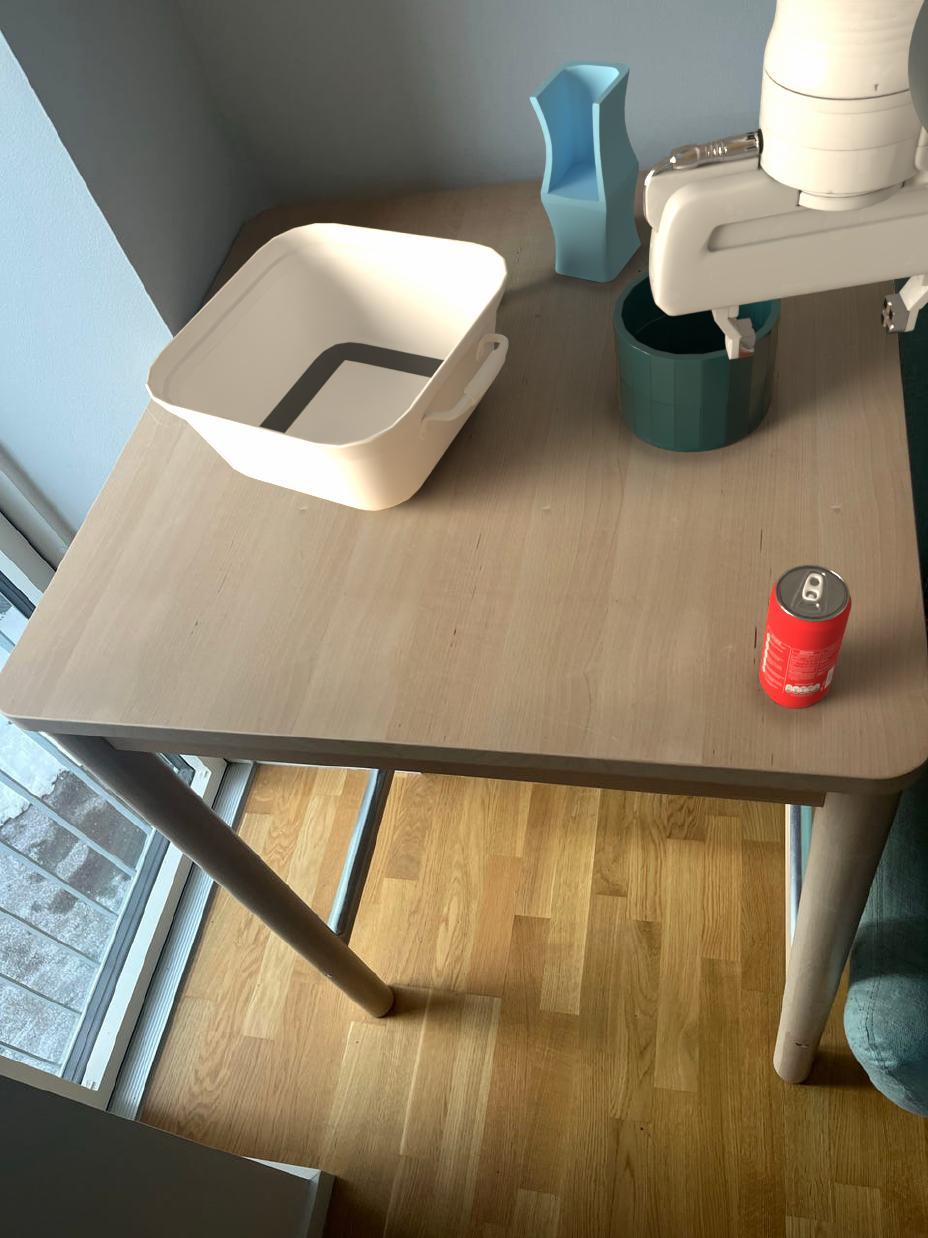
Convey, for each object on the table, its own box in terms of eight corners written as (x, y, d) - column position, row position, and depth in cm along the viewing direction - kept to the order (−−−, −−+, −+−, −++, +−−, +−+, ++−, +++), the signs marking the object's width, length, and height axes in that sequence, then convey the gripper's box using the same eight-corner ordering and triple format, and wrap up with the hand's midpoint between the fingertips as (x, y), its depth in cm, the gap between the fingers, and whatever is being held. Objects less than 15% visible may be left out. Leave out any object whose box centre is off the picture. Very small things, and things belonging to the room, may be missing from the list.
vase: (550, 272, 107) (528, 97, 91) (581, 233, 110) (565, 58, 94) (611, 284, 103) (599, 104, 87) (641, 244, 107) (635, 63, 91)
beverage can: (751, 704, 70) (764, 614, 60) (765, 649, 73) (779, 555, 63) (822, 720, 68) (846, 631, 59) (834, 664, 71) (859, 569, 61)
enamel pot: (773, 350, 92) (783, 253, 83) (767, 454, 84) (778, 359, 76) (628, 351, 96) (623, 259, 87) (610, 450, 88) (603, 360, 80)
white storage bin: (571, 378, 95) (557, 253, 84) (442, 581, 83) (403, 468, 71) (312, 326, 109) (269, 213, 98) (168, 494, 97) (98, 387, 85)
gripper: (650, 186, 45) (655, 399, 56) (1093, 103, 42) (1007, 345, 53) (634, 124, 49) (641, 335, 60) (1041, 44, 46) (970, 281, 57)
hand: (816, 339), depth 57 cm, fingers open, 8 cm apart
